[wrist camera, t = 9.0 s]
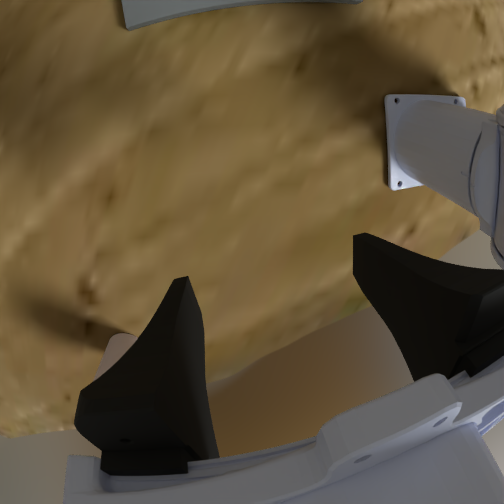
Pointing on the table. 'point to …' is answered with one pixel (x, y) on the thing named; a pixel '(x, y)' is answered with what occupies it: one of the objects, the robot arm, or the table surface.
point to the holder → (188, 8)
